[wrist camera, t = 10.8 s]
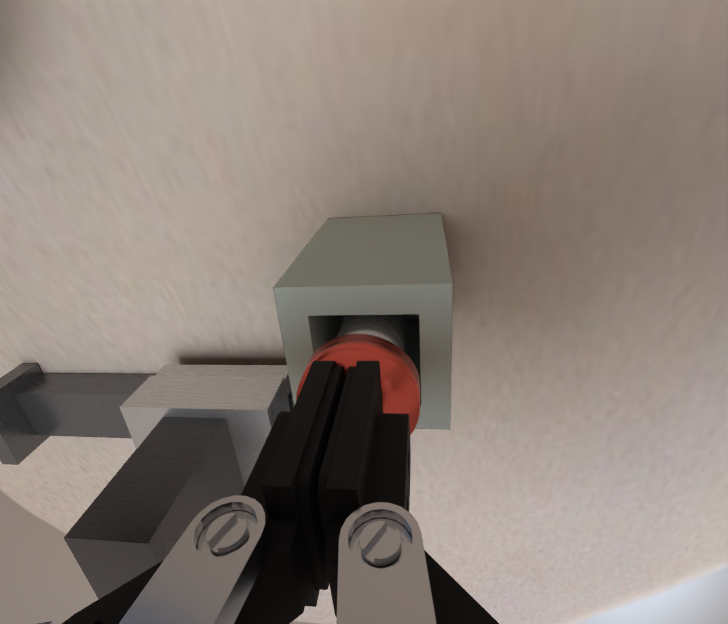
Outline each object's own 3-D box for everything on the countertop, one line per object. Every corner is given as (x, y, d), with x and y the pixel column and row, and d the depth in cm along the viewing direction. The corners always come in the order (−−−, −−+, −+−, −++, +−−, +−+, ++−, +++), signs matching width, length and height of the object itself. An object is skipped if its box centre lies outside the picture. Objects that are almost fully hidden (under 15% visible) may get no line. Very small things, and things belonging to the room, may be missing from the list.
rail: (335, 364, 23) (321, 407, 19) (343, 428, 25) (331, 478, 21) (22, 363, 25) (-35, 401, 22) (51, 421, 27) (2, 463, 24)
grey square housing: (441, 212, 18) (452, 283, 11) (440, 319, 21) (450, 434, 14) (328, 218, 19) (272, 287, 12) (339, 320, 21) (298, 430, 14)
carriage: (291, 362, 22) (203, 537, 13) (307, 450, 24) (242, 646, 16) (164, 361, 23) (3, 523, 14) (192, 447, 25) (72, 629, 17)
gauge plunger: (420, 256, 16) (418, 354, 10) (421, 330, 18) (420, 456, 11) (337, 259, 17) (287, 353, 10) (345, 331, 18) (305, 452, 12)
